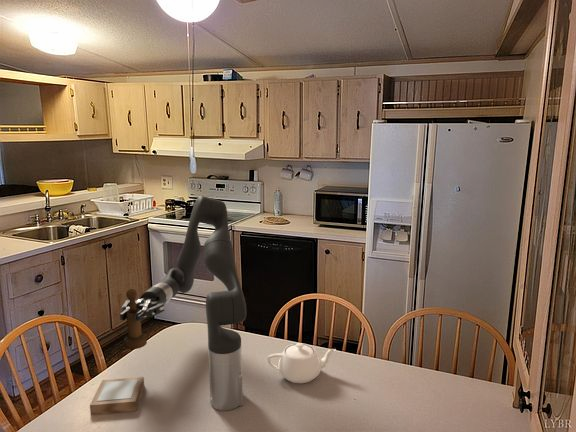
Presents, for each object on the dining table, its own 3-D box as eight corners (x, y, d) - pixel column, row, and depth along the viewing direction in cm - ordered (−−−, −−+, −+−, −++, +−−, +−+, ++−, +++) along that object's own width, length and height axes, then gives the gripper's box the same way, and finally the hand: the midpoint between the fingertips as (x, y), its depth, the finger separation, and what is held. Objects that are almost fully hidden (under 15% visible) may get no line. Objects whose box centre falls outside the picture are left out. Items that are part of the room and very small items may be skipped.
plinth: (144, 385, 128) (143, 376, 127) (136, 410, 116) (135, 400, 116) (103, 389, 126) (102, 379, 125) (90, 415, 114) (89, 404, 114)
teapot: (268, 389, 126) (267, 356, 124) (267, 364, 140) (266, 335, 138) (339, 386, 128) (340, 354, 126) (331, 362, 141) (332, 333, 139)
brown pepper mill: (150, 339, 132) (146, 286, 129) (141, 350, 126) (136, 294, 122) (130, 338, 133) (126, 285, 129) (120, 349, 127) (115, 293, 123)
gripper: (137, 284, 142) (105, 304, 125) (175, 287, 139) (148, 308, 123) (138, 305, 143) (108, 327, 127) (177, 308, 141) (150, 332, 124)
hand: (128, 318), depth 125 cm, fingers closed on brown pepper mill, 4 cm apart
